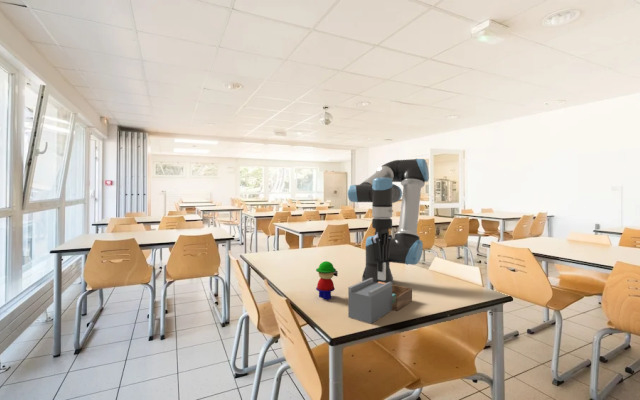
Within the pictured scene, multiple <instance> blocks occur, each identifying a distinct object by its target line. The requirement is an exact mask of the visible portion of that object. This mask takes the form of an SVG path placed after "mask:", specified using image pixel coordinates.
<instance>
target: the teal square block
mask: <svg viewBox="0 0 640 400" xmlns="http://www.w3.org/2000/svg"><path fill="white" fill-rule="evenodd" d="M395 302H396V294H393V293H392V304H393V303H395Z"/></svg>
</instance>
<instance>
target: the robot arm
mask: <svg viewBox="0 0 640 400" xmlns="http://www.w3.org/2000/svg"><path fill="white" fill-rule="evenodd" d="M429 178H430V174H429V167H428V162H427V160H426V159H425V158H414V159H413V158H411V159H410V158H409V159H395V160H391V161H389V162H386V163H384V164H383V165H381V166H379V167H377V169H376V171H375V173H373V174H372V175H370V176H369V177H368V178H366V179H365V180H364V181H362V182H361V183H360V184H352V185H350V186H349V187H348V190H347V198H348V200H349V201H350V202H352V203H372V205H371V206H372V207H371V208H372V209H371V210H372V211H371V212H372V214H371V215H372V219H371V222H372V223H371V226H372V229H374V230H375V231H374V235H369V236H367V237H366V239H365V267H364V270H363V273H362V277H361V278H362V279H361V282H362V281H365V280H367V279H369V278H373V282H376V283H378V282H384V283H387V282H389V281H390V282H392V285H394V277H393V273H392V270H391V267H390V264H391V263H395V264H401V265H402V264H403V265H410V266H411V265H412V266H413V265H417V264H418V263H420V260H421V258H422V255H423V250H424V249H423V248H424V247H423V246H424V244H423V240H421V239H420V235H419V234H418V233H417V232H418V224H419V223H418V222H419V214H420V204H421V203H420V202H421V201H420V200H421V192H422V188H423V187H425V182H426V183H427V182H429V180H430V179H429ZM394 183H400V185H401V186H402V188H401V187H400V186H398V185H397V184H394ZM400 199H401V205H400V212H399V213H400V214H399V222H398V229H397V230H398V231H397V232H395V233H394V237H393V235H391V234H390V231H389V230H390V229H392V228H393V219H392V217H393V212H394V210H393V204H395V203H397V202H399V201H400Z"/></svg>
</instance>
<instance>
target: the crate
mask: <svg viewBox="0 0 640 400" xmlns="http://www.w3.org/2000/svg"><path fill="white" fill-rule="evenodd" d="M392 293H393V294H396V302H395V303H393V304H392V310H391V311H396V312H398V311H400V310H401V309H402V308H404V307H405V306H407V305H409V304H410V303H411V302H412V301H413V288H410V287H406V286H400V285H396V284H392Z"/></svg>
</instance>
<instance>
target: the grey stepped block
mask: <svg viewBox="0 0 640 400" xmlns="http://www.w3.org/2000/svg"><path fill="white" fill-rule="evenodd" d="M392 285H393V284H392V282H390V281H389V282H387V283H385V284H381V283H376V282H373V278H369V279H367V280H365V281H362V280H361V281H360V282H358V283H356V284H354V285H353V284H352V285H351V286H348V287H347V288H348V295H347V296H348V299H347V301H348V302H347V303H348V309H347V310H348V311H347V312H348V315H347V316H348V318H350V319H353V320H358V321H361V322H362V323H363V322H364V323H367V324H373V323H375V322H376V321H378V320H379V319H380V318H382V317H384V316H385V315H386V314H388V313H389V312H391V311H393V310H392Z"/></svg>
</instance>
